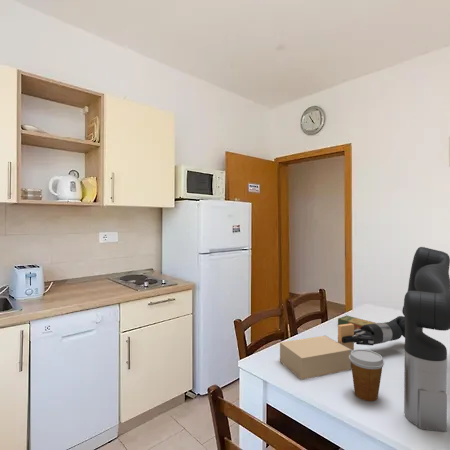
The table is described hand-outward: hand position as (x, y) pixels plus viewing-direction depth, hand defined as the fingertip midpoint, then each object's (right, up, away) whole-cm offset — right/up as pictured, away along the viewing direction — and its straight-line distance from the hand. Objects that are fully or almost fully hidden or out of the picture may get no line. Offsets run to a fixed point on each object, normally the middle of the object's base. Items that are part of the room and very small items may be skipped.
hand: (340, 339), depth 114 cm
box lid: (-11, -8, -4) cm, 14 cm away
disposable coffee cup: (-1, -8, -23) cm, 24 cm away
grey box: (-7, -8, -2) cm, 11 cm away
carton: (+21, -8, +35) cm, 42 cm away
